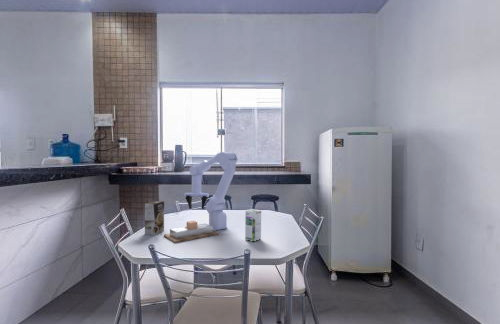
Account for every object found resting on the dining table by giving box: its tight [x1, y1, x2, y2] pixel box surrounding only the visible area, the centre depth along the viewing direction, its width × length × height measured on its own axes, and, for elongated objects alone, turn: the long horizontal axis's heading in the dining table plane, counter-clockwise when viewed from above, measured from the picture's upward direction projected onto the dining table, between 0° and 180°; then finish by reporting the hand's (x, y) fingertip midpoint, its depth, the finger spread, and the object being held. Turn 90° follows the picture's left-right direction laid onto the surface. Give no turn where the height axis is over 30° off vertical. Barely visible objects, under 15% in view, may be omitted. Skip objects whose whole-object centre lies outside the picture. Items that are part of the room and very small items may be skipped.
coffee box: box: [144, 200, 165, 236], centre depth 147 cm, size 9×6×16 cm
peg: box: [186, 220, 198, 230], centre depth 142 cm, size 4×4×6 cm
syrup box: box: [244, 208, 262, 242], centre depth 135 cm, size 6×6×14 cm
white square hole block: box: [169, 223, 213, 239], centre depth 142 cm, size 20×8×3 cm, turn 128°
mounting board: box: [163, 230, 220, 244], centre depth 142 cm, size 24×14×1 cm, turn 128°
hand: (196, 208), depth 166 cm, fingers open, 7 cm apart
